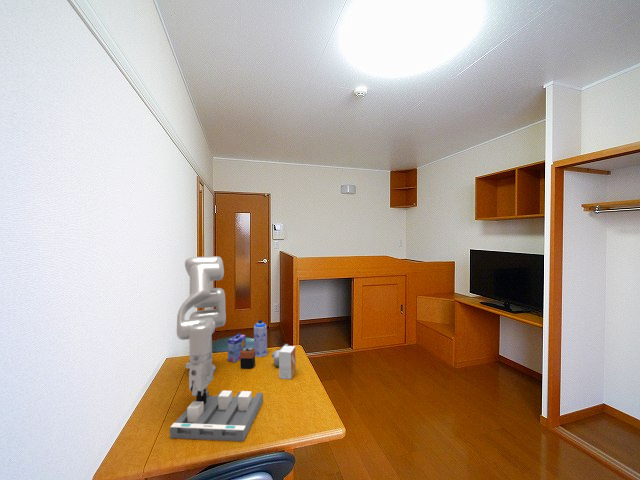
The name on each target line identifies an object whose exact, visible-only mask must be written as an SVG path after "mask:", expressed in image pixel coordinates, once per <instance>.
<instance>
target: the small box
mask: <svg viewBox="0 0 640 480" xmlns="http://www.w3.org/2000/svg"><path fill="white" fill-rule="evenodd" d="M282 346H283V348H282V347H281V348H282V349H281V348H280V351H279V366H278V370H279V371H278V375H279V376H278V378H279V379H284V380H292V379H293V377H294V375H295V373H296V372H297V371H296V370H297V369H296V367H297V366H296V346H295V345H293V346H292V345H289V346H284V345H282Z"/></svg>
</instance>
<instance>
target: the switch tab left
mask: <svg viewBox="0 0 640 480" xmlns="http://www.w3.org/2000/svg"><path fill="white" fill-rule="evenodd" d="M186 410H187V420H188V422H189V423H196V421H197V420H198V419H199V418H200V416H201V415H202V414H203V413H204V402H201V401H195V400H193V401H192V402H191V403H190V404H189V405H188V406H187V408H186Z"/></svg>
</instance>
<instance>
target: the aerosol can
mask: <svg viewBox="0 0 640 480" xmlns="http://www.w3.org/2000/svg"><path fill="white" fill-rule="evenodd" d="M267 328H268V327H267V324H266V323H265V322H264V321H263V319H262V320H261V319H259V320H258V321H257V322H256V323H255V324H254V326H253V349H255V358H262V357H266V356H267V355H268V330H267Z"/></svg>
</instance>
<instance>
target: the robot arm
mask: <svg viewBox="0 0 640 480" xmlns="http://www.w3.org/2000/svg"><path fill="white" fill-rule="evenodd" d="M184 268H185V271H186V273H187V275H188V276H189V295H188V297H187V299H185V300H184V301H183V303H182V304H181V305H180V307H179V309H178V312H177V314H176V317H177V318H176V336H177V338H178V339H179V340H182V341H185V340H188V343H189V344H188V345H189V362H186V363H185V369H189V371H188V387H189V388H188V389H189V391H190V392H191V396H192V397H195V398H196V399H195V400H196V401H201V402H204V405H205V403H206V393H205V392H207V391H208V386H209V384H210V383H212V381H213V379H214V372H215V371H216V365H215V364H213V340H212V339H213V337H212V335H213V334H214V332H215V331H216V328H220V327H223V326H225V324H226V322H227V320H226V319H227V315H226V314H227V313H226V293H225V290H224V289H223V288H221V287H213V288H211V281H221V280H223V278H224V275H225V269H224V262H223V259H222V257H221V256H216V255H215V256H214V255H213V256H193V257H189V258H186V259H185V262H184ZM191 308H195V309H201V310H196V311H193V312H192V313H191V314H190V315H189V317H188V318H189V319H186V314H187V313H188V311H189V310H190V309H191ZM206 308H213V309H206Z"/></svg>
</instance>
